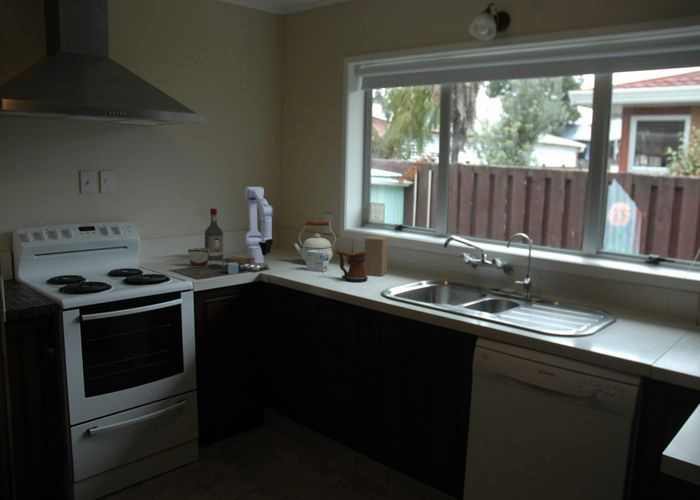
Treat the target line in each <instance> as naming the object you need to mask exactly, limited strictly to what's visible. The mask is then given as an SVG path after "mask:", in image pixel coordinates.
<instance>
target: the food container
mask: <svg viewBox="0 0 700 500" xmlns="http://www.w3.org/2000/svg"><path fill="white" fill-rule="evenodd" d="M187 253H188V258H189V266H190V268H191V267H192V268H208V267H209V265H208V264H209V260H208V255H209V253H210V250H209V249H208V248H205V247H190V248H188V249H187Z"/></svg>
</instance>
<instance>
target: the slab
mask: <svg viewBox="0 0 700 500" xmlns="http://www.w3.org/2000/svg"><path fill="white" fill-rule="evenodd" d="M225 262H227V263H238V264H243V265H244V264H248V263H252V262H255V257H247V255H245V256H244V255H233V256H228V257H225Z"/></svg>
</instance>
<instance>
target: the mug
mask: <svg viewBox="0 0 700 500" xmlns="http://www.w3.org/2000/svg"><path fill="white" fill-rule="evenodd" d="M336 254H337V255H339V260H340V263H339V269H340V270H341V271H343V274H342V275H341V278H342V279H344V280H345V281H346V282H351V283H366V282H367V281H368V279H369V278H368V275H366V273H365V270H364V260H365V254H366V252H365V251H359V252H353V253H349V254H348V253H346V252H343V251H342V250H339V249H337V250H336ZM344 256H345V257H347V259H346V263H347V264H348V265H349V266H348V267H349V268H348V270H347V269H346V268H345V259H344ZM365 281H366V282H365Z"/></svg>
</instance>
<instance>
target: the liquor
mask: <svg viewBox="0 0 700 500" xmlns="http://www.w3.org/2000/svg"><path fill="white" fill-rule="evenodd" d="M217 214H218V209H217V208H213V207H212V208H210V223H209V225H208V227H206V229H205V231H204V248H208V249H209V250H210V253H209V255H208V261H211V260H214V261H222V260H223V259H224V232H223V230H222V229H221V227H219V225H218V222H217V221H218V219H217V217H218V216H217ZM221 259H222V260H221Z"/></svg>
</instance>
